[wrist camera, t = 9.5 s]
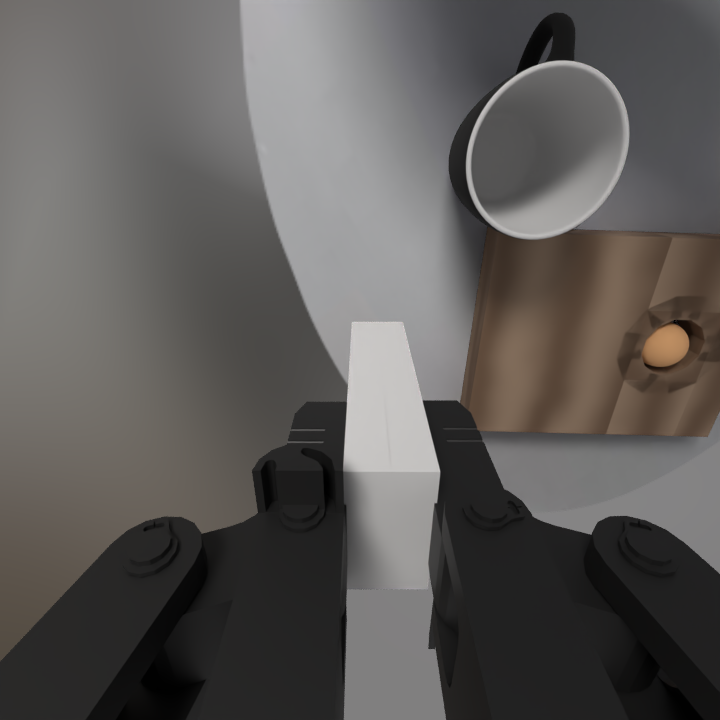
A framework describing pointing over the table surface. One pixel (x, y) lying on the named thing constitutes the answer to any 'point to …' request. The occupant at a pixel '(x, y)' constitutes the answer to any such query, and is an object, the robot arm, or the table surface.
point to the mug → (542, 142)
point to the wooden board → (594, 334)
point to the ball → (665, 346)
